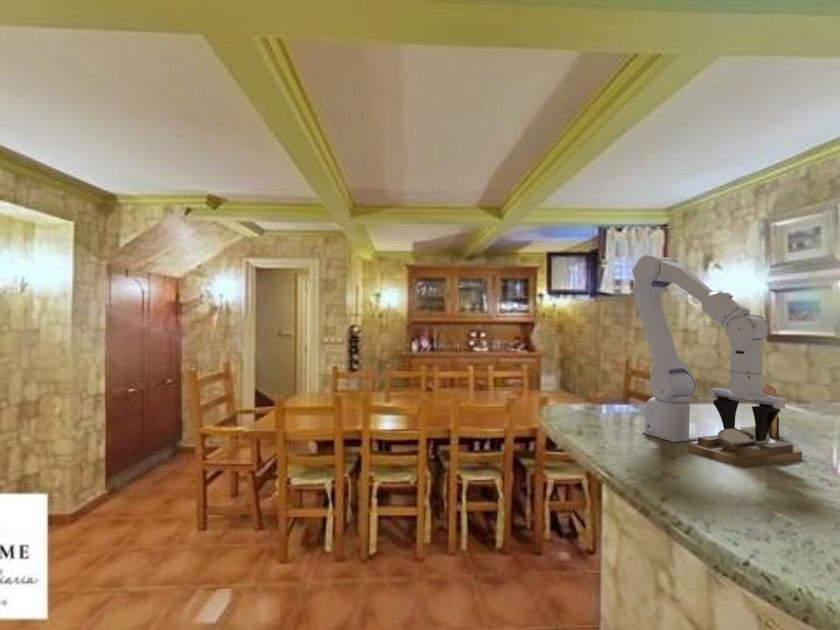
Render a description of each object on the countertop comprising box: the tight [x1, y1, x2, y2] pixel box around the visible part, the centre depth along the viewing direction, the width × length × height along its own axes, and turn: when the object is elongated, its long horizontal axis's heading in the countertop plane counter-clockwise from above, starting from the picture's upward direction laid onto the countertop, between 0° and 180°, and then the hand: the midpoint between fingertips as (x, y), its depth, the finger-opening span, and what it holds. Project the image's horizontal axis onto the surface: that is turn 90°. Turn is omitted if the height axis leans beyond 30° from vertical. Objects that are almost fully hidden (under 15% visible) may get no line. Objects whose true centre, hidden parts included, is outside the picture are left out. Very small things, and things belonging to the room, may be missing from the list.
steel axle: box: [716, 425, 771, 451], centre depth 103 cm, size 4×10×4 cm
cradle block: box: [688, 434, 803, 469], centre depth 104 cm, size 12×18×3 cm, turn 113°
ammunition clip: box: [762, 383, 780, 439], centre depth 124 cm, size 11×2×12 cm, turn 155°
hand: (744, 436), depth 104 cm, fingers open, 6 cm apart
